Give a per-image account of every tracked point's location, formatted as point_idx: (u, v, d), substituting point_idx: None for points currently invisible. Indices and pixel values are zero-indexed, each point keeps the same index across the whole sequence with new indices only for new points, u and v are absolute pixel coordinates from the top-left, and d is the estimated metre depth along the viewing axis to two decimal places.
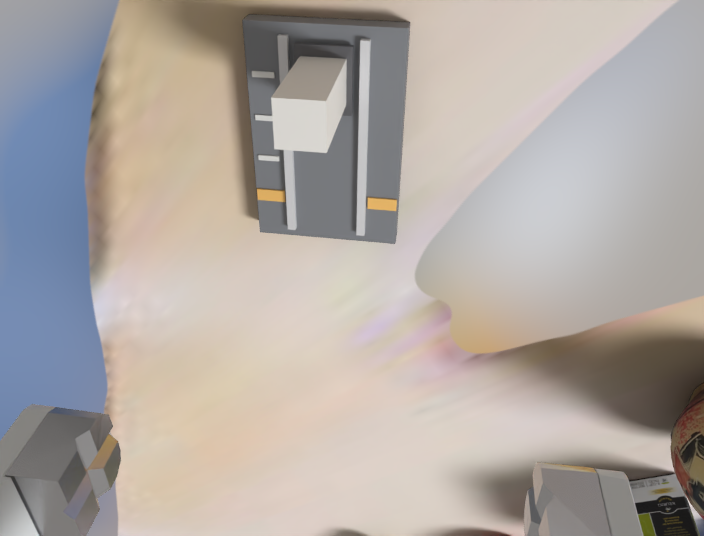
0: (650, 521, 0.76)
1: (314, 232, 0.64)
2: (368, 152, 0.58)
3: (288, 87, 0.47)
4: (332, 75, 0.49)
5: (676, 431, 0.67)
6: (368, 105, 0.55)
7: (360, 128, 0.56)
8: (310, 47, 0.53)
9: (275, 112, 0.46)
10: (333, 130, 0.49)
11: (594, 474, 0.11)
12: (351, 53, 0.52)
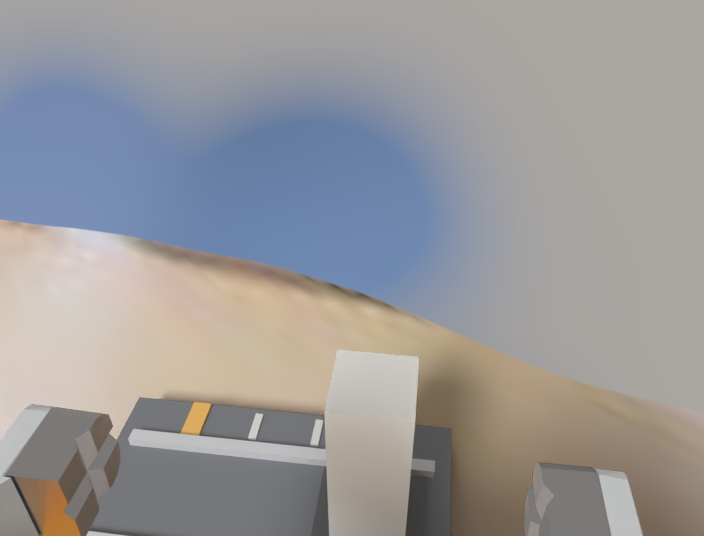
0: None
1: None
2: None
3: None
4: None
5: None
6: None
7: None
8: (421, 498, 0.36)
9: (396, 358, 0.30)
10: (336, 457, 0.29)
11: (594, 475, 0.11)
12: None
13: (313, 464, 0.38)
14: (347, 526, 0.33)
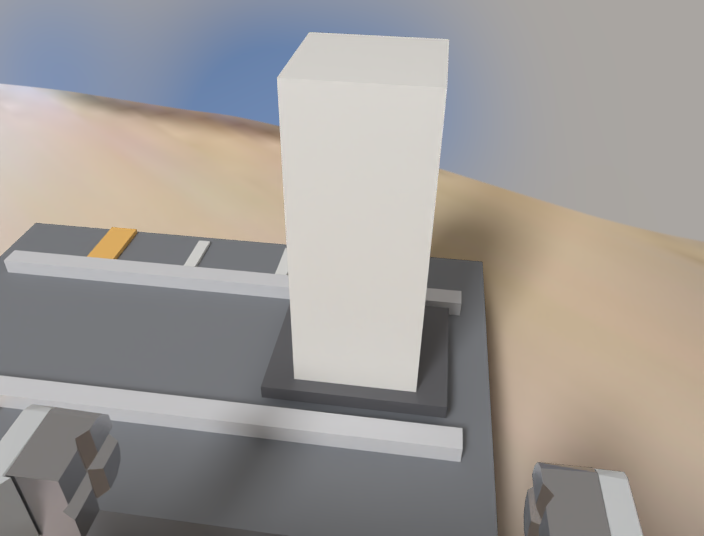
0: None
1: None
2: (136, 425, 0.20)
3: None
4: None
5: None
6: (275, 435, 0.20)
7: (218, 404, 0.20)
8: (442, 332, 0.23)
9: (409, 39, 0.18)
10: (301, 195, 0.17)
11: (594, 475, 0.11)
12: (429, 403, 0.20)
13: (278, 297, 0.26)
14: (323, 351, 0.20)
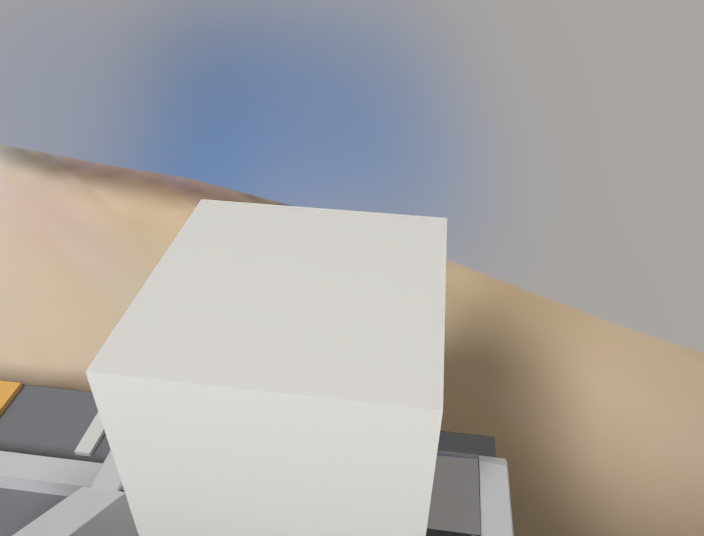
0: None
1: None
2: None
3: None
4: None
5: None
6: None
7: None
8: None
9: (376, 220, 0.10)
10: (170, 535, 0.09)
11: (474, 461, 0.11)
12: None
13: None
14: None
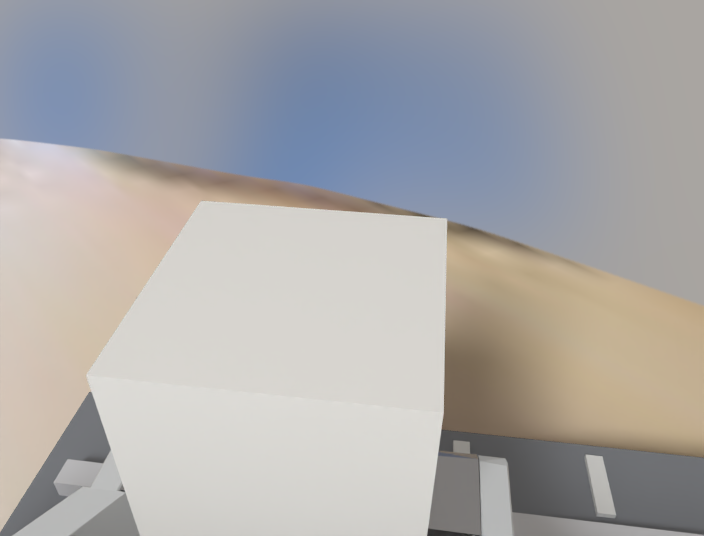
0: None
1: None
2: None
3: None
4: None
5: None
6: None
7: None
8: None
9: (376, 221, 0.10)
10: None
11: (475, 461, 0.11)
12: None
13: None
14: None
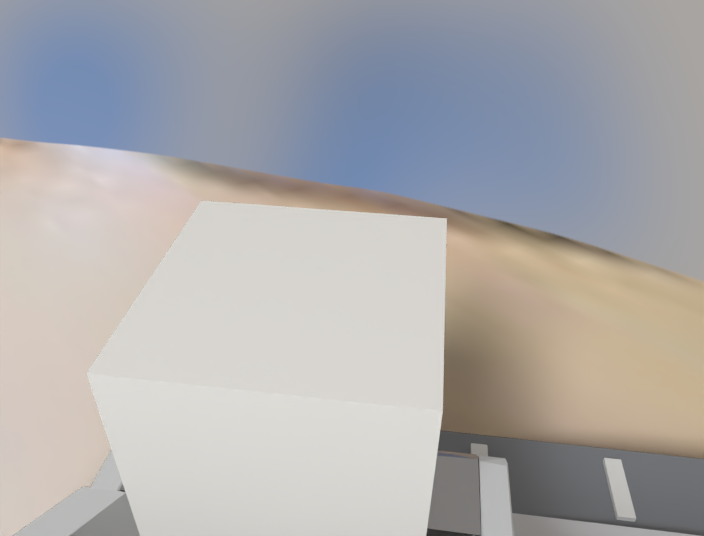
0: None
1: None
2: None
3: None
4: None
5: None
6: None
7: None
8: None
9: (375, 221, 0.10)
10: (171, 535, 0.09)
11: (474, 461, 0.11)
12: None
13: None
14: None
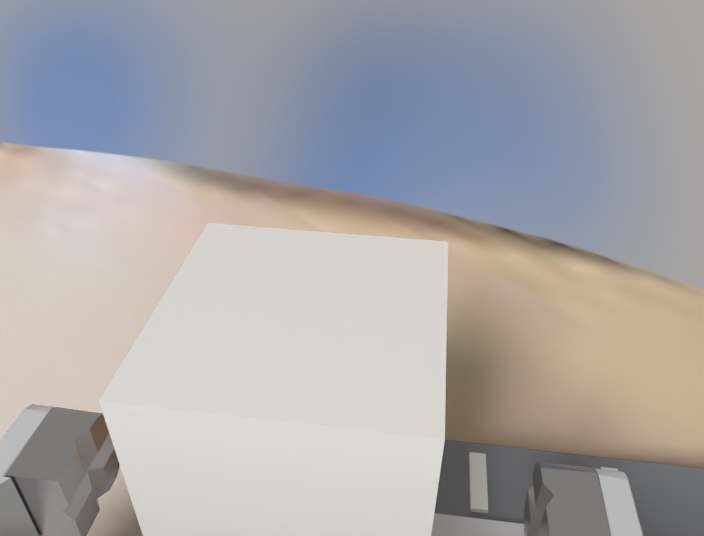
0: None
1: None
2: None
3: None
4: None
5: None
6: None
7: None
8: None
9: (379, 244, 0.10)
10: None
11: (594, 475, 0.11)
12: None
13: None
14: None
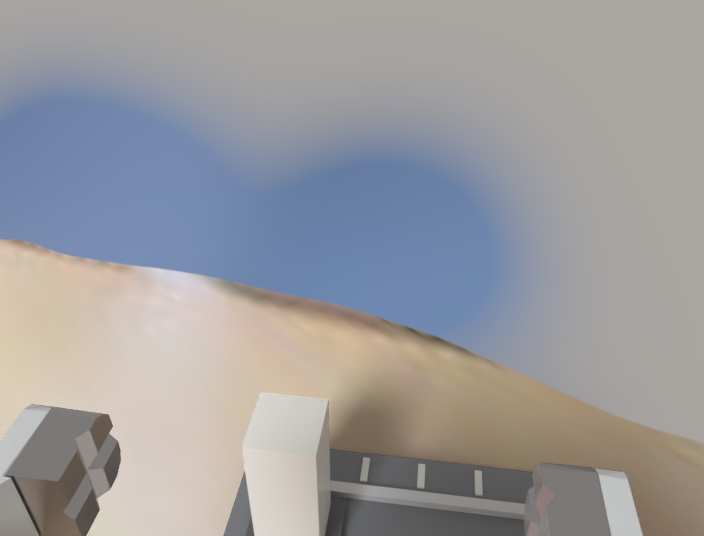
0: None
1: (240, 508, 0.42)
2: None
3: (326, 435, 0.37)
4: (319, 511, 0.36)
5: None
6: None
7: None
8: (340, 517, 0.41)
9: (309, 400, 0.36)
10: (255, 484, 0.35)
11: (594, 475, 0.11)
12: None
13: (422, 506, 0.43)
14: None
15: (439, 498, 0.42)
